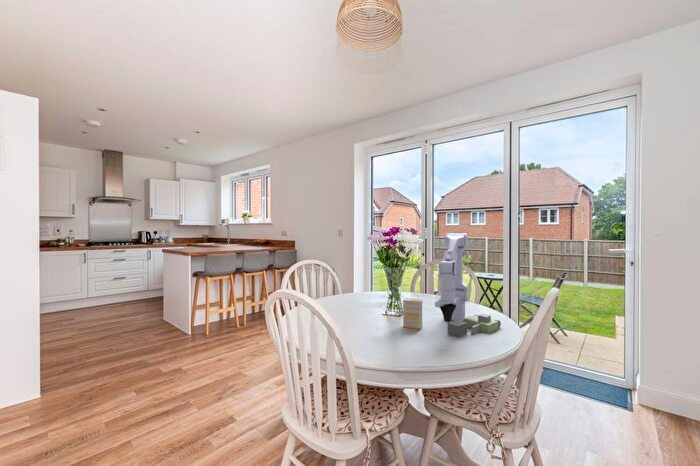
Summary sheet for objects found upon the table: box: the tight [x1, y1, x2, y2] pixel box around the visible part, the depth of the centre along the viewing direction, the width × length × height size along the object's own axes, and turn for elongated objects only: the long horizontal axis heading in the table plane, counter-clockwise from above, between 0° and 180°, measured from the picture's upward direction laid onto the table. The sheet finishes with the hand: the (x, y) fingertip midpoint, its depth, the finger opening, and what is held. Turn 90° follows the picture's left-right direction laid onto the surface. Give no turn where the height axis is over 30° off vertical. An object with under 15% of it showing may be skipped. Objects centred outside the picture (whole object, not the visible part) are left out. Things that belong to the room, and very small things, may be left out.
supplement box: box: [402, 297, 423, 330], centre depth 144 cm, size 8×5×13 cm, turn 65°
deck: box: [460, 313, 502, 335], centre depth 142 cm, size 12×18×6 cm
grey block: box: [447, 320, 468, 338], centre depth 135 cm, size 5×7×5 cm
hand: (447, 321), depth 130 cm, fingers closed
